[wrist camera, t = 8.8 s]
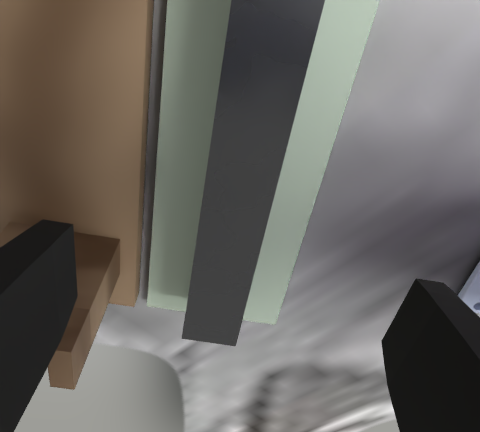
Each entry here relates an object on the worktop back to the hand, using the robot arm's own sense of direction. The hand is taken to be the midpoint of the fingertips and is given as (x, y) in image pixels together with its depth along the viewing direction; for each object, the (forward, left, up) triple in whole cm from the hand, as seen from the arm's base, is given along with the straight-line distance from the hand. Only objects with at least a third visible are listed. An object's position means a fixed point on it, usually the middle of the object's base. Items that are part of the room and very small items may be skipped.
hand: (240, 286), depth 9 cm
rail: (0, 0, -8) cm, 8 cm away
